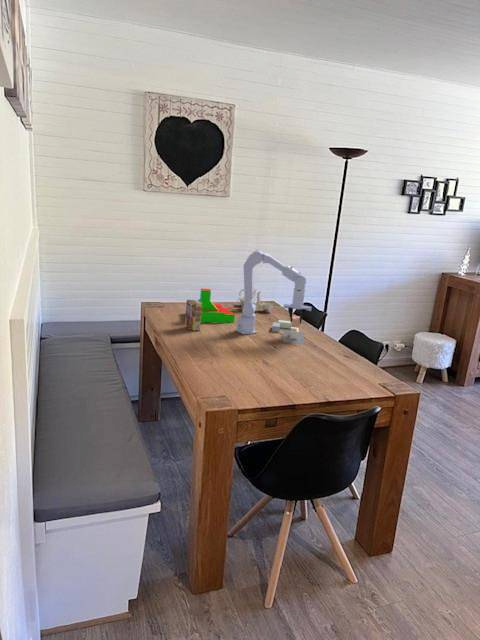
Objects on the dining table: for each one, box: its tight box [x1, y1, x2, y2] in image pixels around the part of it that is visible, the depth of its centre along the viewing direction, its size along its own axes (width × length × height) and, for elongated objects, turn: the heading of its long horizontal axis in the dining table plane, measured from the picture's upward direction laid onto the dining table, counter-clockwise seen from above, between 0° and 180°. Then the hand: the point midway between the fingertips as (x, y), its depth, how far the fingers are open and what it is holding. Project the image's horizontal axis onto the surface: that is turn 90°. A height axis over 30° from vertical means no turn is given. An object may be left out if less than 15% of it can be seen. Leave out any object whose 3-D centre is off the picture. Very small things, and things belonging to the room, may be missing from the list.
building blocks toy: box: [197, 288, 235, 324], centre depth 274 cm, size 19×25×18 cm
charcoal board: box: [282, 329, 306, 345], centre depth 253 cm, size 22×11×1 cm, turn 174°
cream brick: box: [290, 327, 300, 339], centre depth 252 cm, size 8×4×4 cm, turn 174°
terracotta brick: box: [291, 315, 301, 329], centre depth 251 cm, size 8×4×4 cm, turn 174°
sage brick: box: [277, 319, 292, 330], centre depth 269 cm, size 8×4×4 cm, turn 84°
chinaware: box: [236, 287, 275, 313], centre depth 303 cm, size 28×17×17 cm, turn 58°
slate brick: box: [271, 321, 281, 333], centre depth 262 cm, size 8×4×4 cm, turn 174°
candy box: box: [184, 298, 202, 332], centre depth 252 cm, size 9×4×15 cm, turn 39°
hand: (295, 322), depth 251 cm, fingers closed on terracotta brick, 4 cm apart
